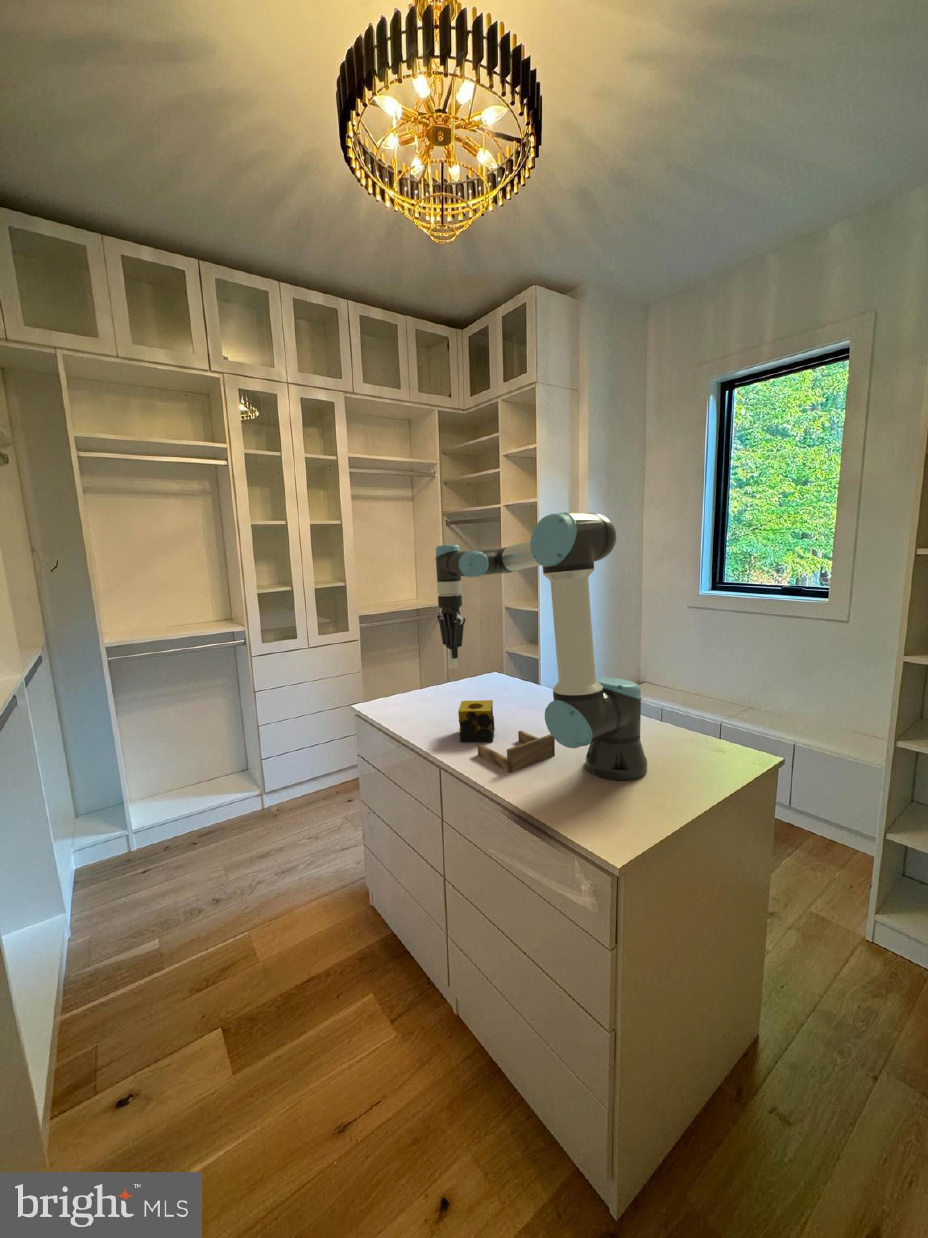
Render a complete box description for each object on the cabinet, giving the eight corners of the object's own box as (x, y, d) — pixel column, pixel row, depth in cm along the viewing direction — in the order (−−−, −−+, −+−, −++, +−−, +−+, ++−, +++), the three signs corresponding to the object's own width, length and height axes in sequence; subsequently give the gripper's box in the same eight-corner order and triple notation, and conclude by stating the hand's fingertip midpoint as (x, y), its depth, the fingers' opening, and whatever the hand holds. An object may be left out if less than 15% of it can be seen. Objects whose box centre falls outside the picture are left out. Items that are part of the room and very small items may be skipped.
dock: (554, 755, 136) (554, 734, 135) (510, 772, 127) (509, 750, 127) (521, 740, 148) (520, 720, 147) (477, 754, 139) (477, 734, 138)
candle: (494, 730, 157) (493, 699, 155) (493, 743, 147) (492, 710, 145) (462, 730, 158) (461, 700, 156) (459, 743, 148) (457, 711, 146)
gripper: (471, 594, 152) (474, 669, 156) (448, 592, 163) (451, 662, 167) (451, 597, 148) (454, 673, 152) (428, 594, 159) (432, 666, 162)
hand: (453, 667), depth 159 cm, fingers closed
